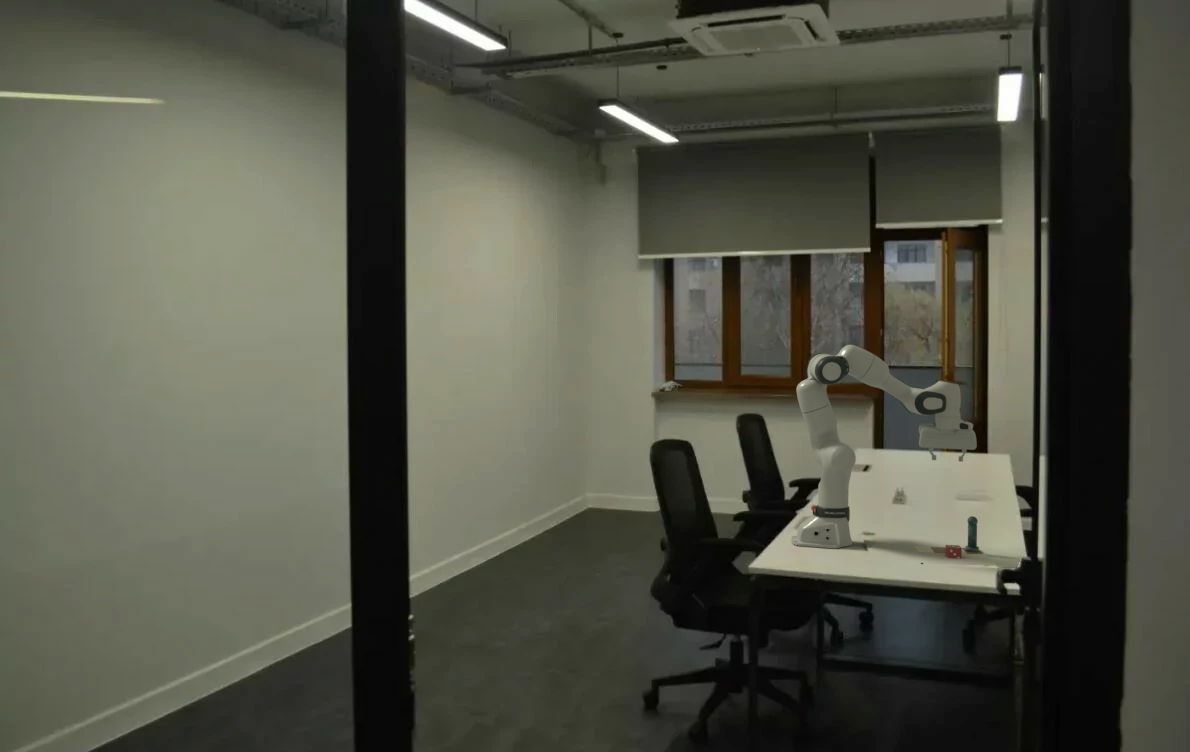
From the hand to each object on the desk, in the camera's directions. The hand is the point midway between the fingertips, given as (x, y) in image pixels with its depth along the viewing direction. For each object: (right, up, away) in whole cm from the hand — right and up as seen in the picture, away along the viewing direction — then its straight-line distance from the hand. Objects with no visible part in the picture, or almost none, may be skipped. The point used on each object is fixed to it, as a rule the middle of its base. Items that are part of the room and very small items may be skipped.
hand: (947, 460), depth 360 cm
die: (-7, -32, -24) cm, 41 cm away
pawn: (+3, -31, -16) cm, 35 cm away
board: (-5, -32, -15) cm, 35 cm away
